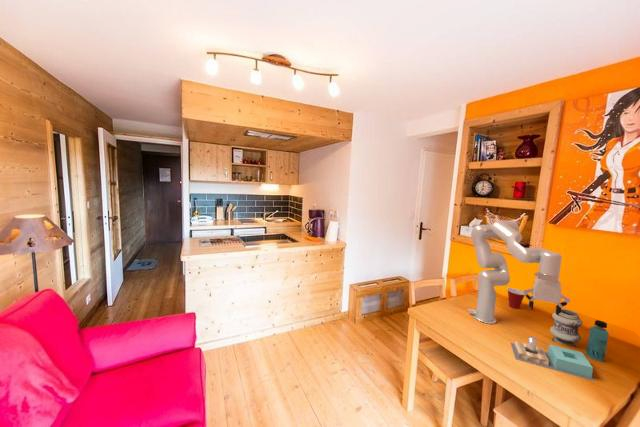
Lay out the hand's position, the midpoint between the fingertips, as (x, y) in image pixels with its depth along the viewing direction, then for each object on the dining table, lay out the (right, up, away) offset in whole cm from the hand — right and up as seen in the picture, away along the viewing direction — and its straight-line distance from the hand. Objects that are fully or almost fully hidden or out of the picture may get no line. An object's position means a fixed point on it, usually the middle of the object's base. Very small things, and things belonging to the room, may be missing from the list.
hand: (543, 311), depth 127 cm
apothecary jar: (+23, -23, +14) cm, 35 cm away
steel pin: (-6, -22, +1) cm, 23 cm away
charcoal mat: (0, -24, -2) cm, 24 cm away
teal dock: (+6, -23, -6) cm, 25 cm away
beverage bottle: (+26, -25, +1) cm, 36 cm away
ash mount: (-6, -22, +1) cm, 23 cm away
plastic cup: (+27, -18, +56) cm, 65 cm away
